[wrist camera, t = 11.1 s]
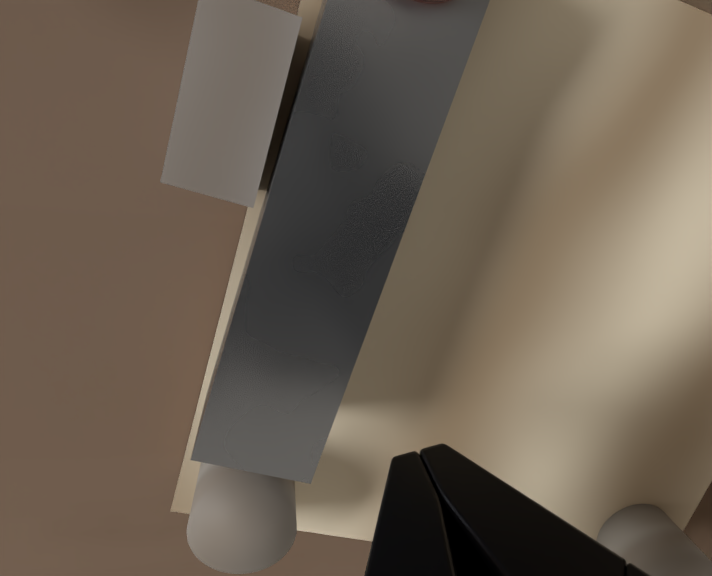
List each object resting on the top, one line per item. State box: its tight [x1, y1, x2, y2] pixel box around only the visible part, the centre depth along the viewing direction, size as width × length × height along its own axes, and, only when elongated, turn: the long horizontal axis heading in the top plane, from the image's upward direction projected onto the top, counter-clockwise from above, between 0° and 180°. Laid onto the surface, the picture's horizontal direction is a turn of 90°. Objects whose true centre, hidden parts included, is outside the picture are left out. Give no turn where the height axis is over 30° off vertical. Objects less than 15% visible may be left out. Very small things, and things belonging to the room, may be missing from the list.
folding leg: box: [191, 0, 490, 484], centre depth 9 cm, size 10×2×3 cm, turn 161°
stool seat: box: [161, 0, 712, 576], centre depth 12 cm, size 15×14×4 cm
